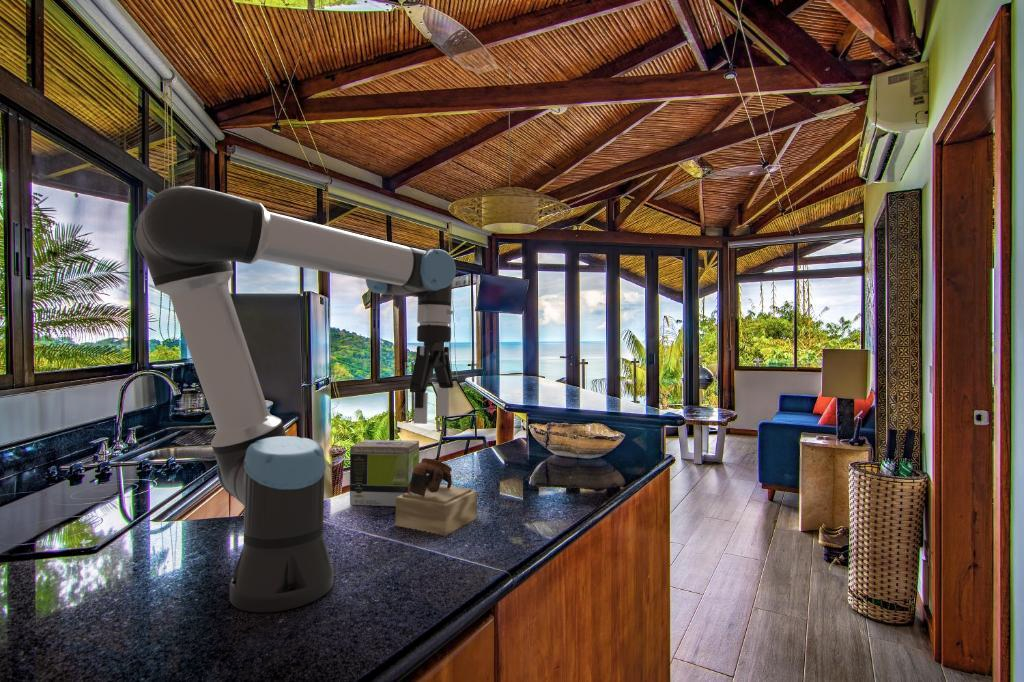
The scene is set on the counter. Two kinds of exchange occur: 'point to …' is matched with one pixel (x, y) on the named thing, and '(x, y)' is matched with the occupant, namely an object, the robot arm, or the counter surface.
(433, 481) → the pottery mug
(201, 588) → the counter surface
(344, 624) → the counter surface
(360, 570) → the counter surface
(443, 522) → the wooden box
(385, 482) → the tea box
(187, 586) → the counter surface
